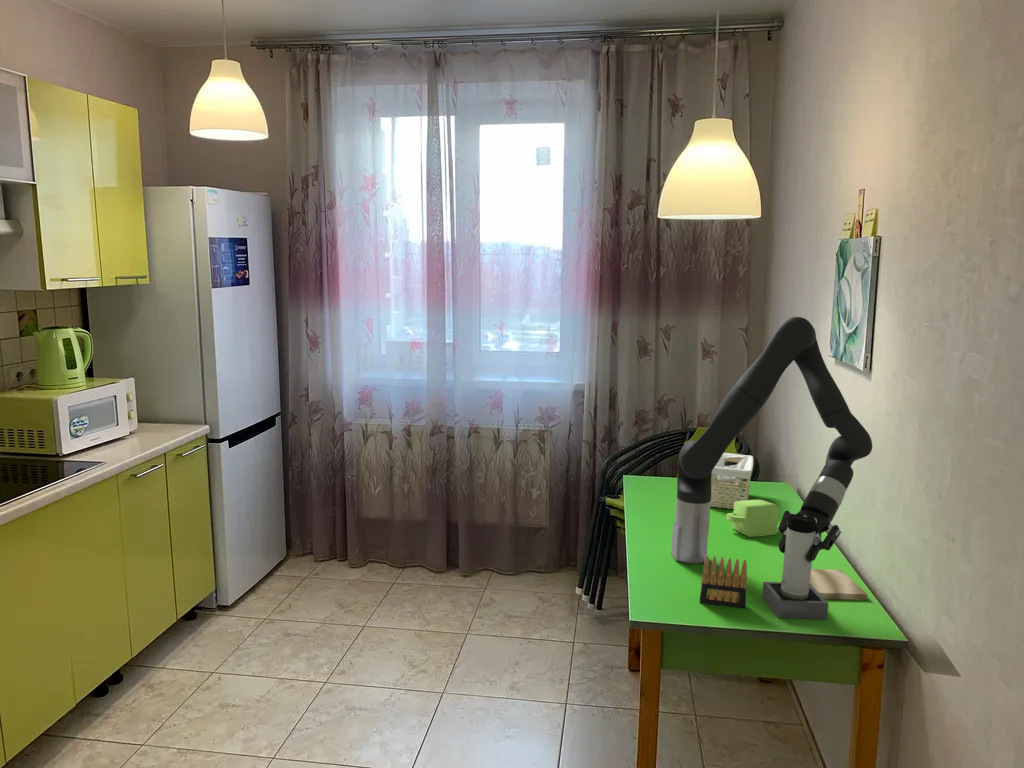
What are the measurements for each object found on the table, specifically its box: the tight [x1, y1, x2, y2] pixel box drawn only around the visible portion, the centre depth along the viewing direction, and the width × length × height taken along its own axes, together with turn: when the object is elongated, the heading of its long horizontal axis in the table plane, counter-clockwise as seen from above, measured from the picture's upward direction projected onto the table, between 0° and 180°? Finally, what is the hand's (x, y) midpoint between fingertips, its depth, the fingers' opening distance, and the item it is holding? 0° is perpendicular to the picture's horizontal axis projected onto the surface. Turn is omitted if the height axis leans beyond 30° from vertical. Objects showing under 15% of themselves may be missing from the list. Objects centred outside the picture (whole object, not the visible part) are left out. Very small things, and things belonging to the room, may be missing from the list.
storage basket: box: [710, 452, 755, 510], centre depth 263 cm, size 24×16×15 cm
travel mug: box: [781, 513, 816, 601], centre depth 179 cm, size 6×7×20 cm
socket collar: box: [761, 581, 829, 620], centre depth 181 cm, size 11×11×4 cm
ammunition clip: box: [699, 555, 748, 609], centre depth 181 cm, size 11×2×12 cm, turn 77°
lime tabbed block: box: [726, 499, 780, 538], centre depth 233 cm, size 18×10×10 cm, turn 110°
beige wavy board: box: [810, 568, 868, 601], centre depth 194 cm, size 13×15×2 cm
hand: (794, 555), depth 178 cm, fingers closed on travel mug, 6 cm apart
